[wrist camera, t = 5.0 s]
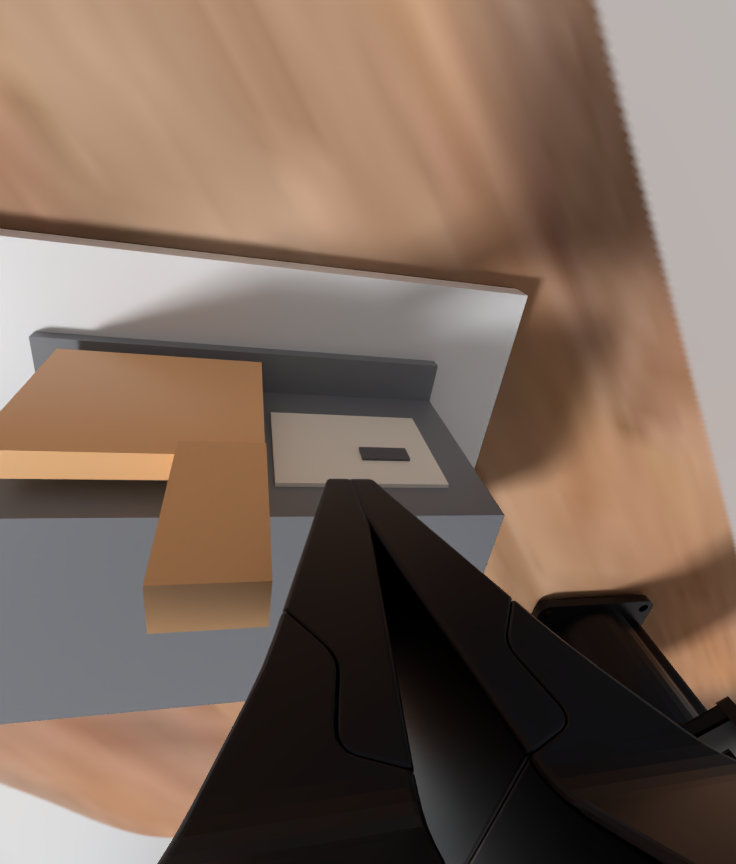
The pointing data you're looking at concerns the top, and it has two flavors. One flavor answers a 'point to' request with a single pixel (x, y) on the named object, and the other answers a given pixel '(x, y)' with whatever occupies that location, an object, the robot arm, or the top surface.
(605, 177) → the top surface
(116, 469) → the wooden block
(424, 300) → the grey and white panel
